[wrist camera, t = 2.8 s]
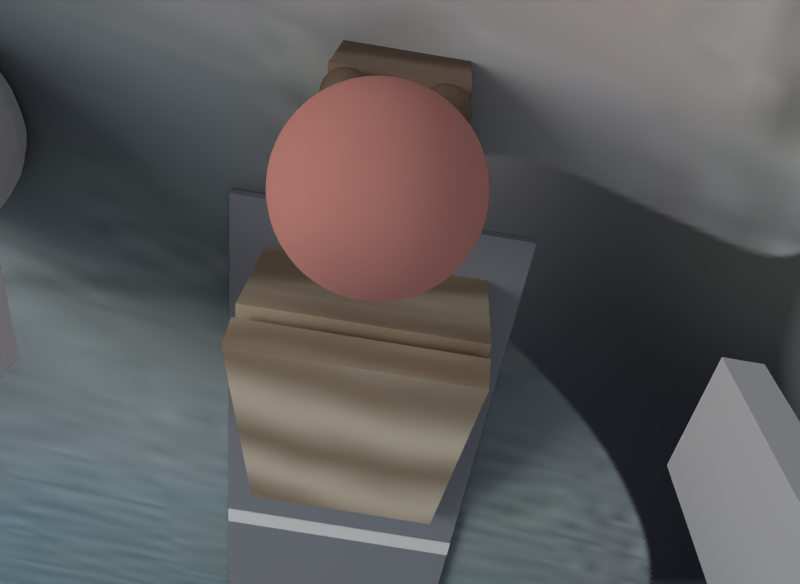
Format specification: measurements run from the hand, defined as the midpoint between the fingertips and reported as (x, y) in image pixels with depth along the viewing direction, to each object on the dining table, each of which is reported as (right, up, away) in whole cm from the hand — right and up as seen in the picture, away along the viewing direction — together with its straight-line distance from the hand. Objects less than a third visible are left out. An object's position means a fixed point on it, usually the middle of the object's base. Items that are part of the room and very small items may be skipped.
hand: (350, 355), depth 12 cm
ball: (+1, +5, +8) cm, 10 cm away
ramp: (-1, -3, +19) cm, 19 cm away
